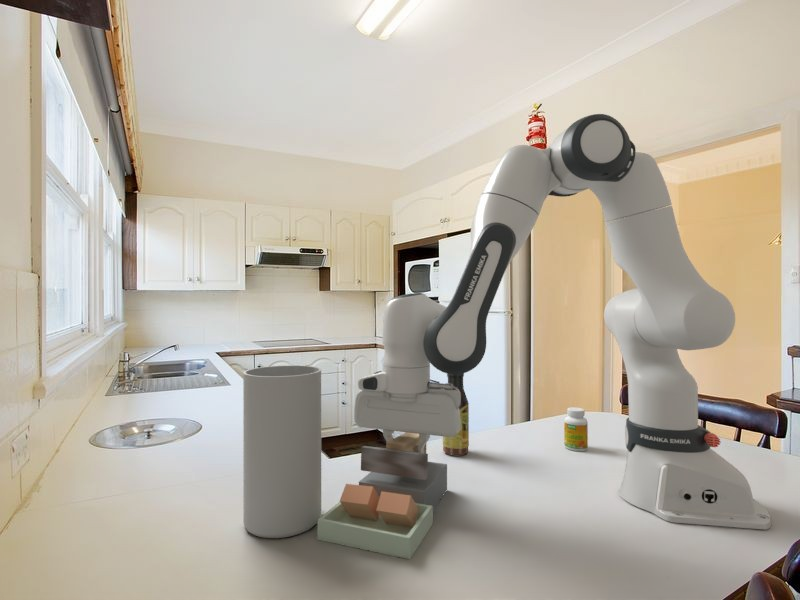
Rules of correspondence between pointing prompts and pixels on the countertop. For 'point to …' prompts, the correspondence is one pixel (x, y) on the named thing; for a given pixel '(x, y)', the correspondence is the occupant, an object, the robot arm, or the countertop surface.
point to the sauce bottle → (461, 439)
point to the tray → (374, 531)
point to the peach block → (397, 509)
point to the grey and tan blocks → (397, 458)
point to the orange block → (360, 501)
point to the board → (412, 484)
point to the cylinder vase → (281, 450)
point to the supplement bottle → (576, 430)
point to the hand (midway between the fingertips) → (406, 455)
